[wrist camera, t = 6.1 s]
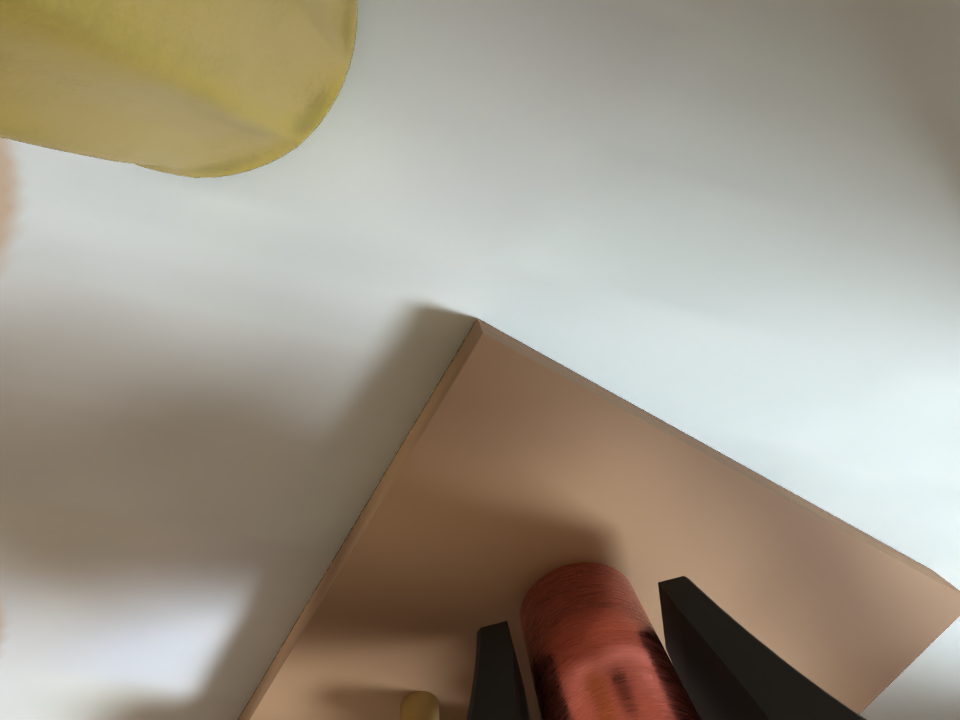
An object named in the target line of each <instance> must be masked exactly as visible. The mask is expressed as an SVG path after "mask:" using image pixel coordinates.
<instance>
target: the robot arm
mask: <svg viewBox="0 0 960 720" xmlns="http://www.w3.org/2000/svg"><path fill="white" fill-rule="evenodd" d="M658 588H659V596H660V604H661V613H662V621H663V630H664V638H665V646H666V650H667V653H668V655H669V657H670V659H671V662H672V664H673V666H674V668H675V670H676V672H677V674H678V676H679V678H680V680H681V682H682V684H683V686H684V687H685V689H686V691H687V693H688V695H689V697H690V699H691V701H692V703H693V705H694V707H695V709H696V711H697V713H698V714H699V716H700V718H701V720H866V719H865V718H863V717H862V716H860V715H859V714H857V713H856V712H854V711H853V710H851V709H850V708H848V707H847V706H845V705H844V704H843V703H841V702H840V701H838V700H837V699H835V698H834V697H833V696H831V695H830V694H828V693H827V692H826V691H824V690H823V689H822V688H820V687H819V686H818V685H816V684H815V683H813V682H812V681H811V680H809V679H808V678H807V677H805V676H804V675H803V674H801V673H800V672H799V671H797V670H796V669H795V668H793V667H792V666H791V665H790V664H788V663H787V662H786V661H784V660H783V659H782V658H781V657H779V656H778V655H777V654H776V653H774V652H773V651H772V650H771V649H769V648H768V647H767V646H766V645H764V644H763V643H762V642H761V641H759V640H758V639H757V638H756V637H755V636H753V635H752V634H751V633H750V632H748V631H747V630H746V629H745V628H744V627H742V626H741V625H740V624H739V623H738V622H737V621H735V620H734V619H733V618H732V617H731V616H730V615H729V614H727V613H726V612H725V611H724V610H723V609H722V608H721V607H719V606H718V605H717V604H716V603H715V602H714V601H713V600H712V599H710V598H709V597H708V596H707V595H706V594H705V593H704V592H703V591H702V590H701V589H700V588H698V587H697V586H696V585H695V584H694V583H693V582H692V581H691V580H690V579H689V578H687V577H685V576H681V577H677V578H673V579H669V580H665V581H662V582H658ZM467 720H531V717H530V712H529V707H528V702H527V698H526V693H525V688H524V684H523V680H522V676H521V672H520V668H519V665H518V661H517V657H516V653H515V649H514V646H513V642H512V638H511V634H510V630H509V626H508V623H507V621H504V622H501V623H497V624H493V625H489V626H485V627H481V628H480V629H479V630H478V632H477V647H476V660H475V670H474V678H473V685H472V692H471V698H470V704H469V709H468V715H467Z"/></svg>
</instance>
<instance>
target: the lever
mask: <svg viewBox="0 0 960 720" xmlns="http://www.w3.org/2000/svg"><path fill="white" fill-rule="evenodd" d="M520 623H521V628H522V632H523V637H524V642H525V646H526V651H527V655H528V660H529V664H530V669H531V674H532V678H533V683H534V687H535V692H536V696H537V701H538V706H539V710H540V715H541V719H542V720H701V718H700V716H699V714H698V713H697V711H696V709H695V707H694V705H693V703H692V701H691V699H690V697H689V695H688V693H687V691H686V689H685V687H684V686H683V684H682V682H681V680H680V678H679V676H678V674H677V672H676V670H675V668H674V666H673V664H672V662H671V660H670V659H669V657H668V655H667V653H666V651H665V649H664V647H663V645H662V643H661V641H660V639H659V637H658V635H657V633H656V632H655V630H654V628H653V626H652V624H651V622H650V620H649V618H648V616H647V614H646V612H645V610H644V608H643V606H642V605H641V603H640V601H639V599H638V597H637V595H636V593H635V591H634V589H633V587H632V585H631V584H630V582H629V580H628V579H627V578H626V577H625V576H624V575H623V574H622V573H621V572H619V571H618V570H616V569H614V568H612V567H610V566H608V565H604V564H600V563H594V562H581V563H574V564H569V565H566V566H562V567H560V568H557V569H555V570H553V571H551V572H549V573H548V574H546V575H545V576H543V577H542V578H541V579H539V580H538V581H537V582H536V583H535V584H534V585H533V586H532V587H531V588H530V590H529V591H528V593H527V594H526V596H525V598H524V600H523V603H522V606H521V610H520Z"/></svg>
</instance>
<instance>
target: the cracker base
mask: <svg viewBox="0 0 960 720" xmlns="http://www.w3.org/2000/svg"><path fill="white" fill-rule="evenodd" d="M581 562H594V563H600V564H604V565H608V566H610V567H612V568H614V569H616V570H618V571H619V572H621V573H622V574H623V575H624V576H625V577H626V578H627V579H628V580H629V582H630V584H631V585H632V587H633V589H634V591H635V593H636V595H637V597H638V599H639V601H640V603H641V605H642V606H643V608H644V610H645V612H646V614H647V616H648V618H649V620H650V622H651V624H652V626H653V628H654V630H655V632H656V633H657V635H658V637H659V639H660V641H661V643H662V645H663V647H664V649H665V651H666V653H667V650H666V646H665V638H664V630H663V621H662V613H661V604H660V596H659V588H658V582H662V581H665V580H669V579H673V578H677V577H681V576H685V577H687V578H689V579H690V580H691V581H692V582H693V583H694V584H695V585H696V586H697V587H698V588H700V589H701V590H702V591H703V592H704V593H705V594H706V595H707V596H708V597H709V598H710V599H712V600H713V601H714V602H715V603H716V604H717V605H718V606H719V607H721V608H722V609H723V610H724V611H725V612H726V613H727V614H729V615H730V616H731V617H732V618H733V619H734V620H735V621H737V622H738V623H739V624H740V625H741V626H742V627H744V628H745V629H746V630H747V631H748V632H750V633H751V634H752V635H753V636H755V637H756V638H757V639H758V640H759V641H761V642H762V643H763V644H764V645H766V646H767V647H768V648H769V649H771V650H772V651H773V652H774V653H776V654H777V655H778V656H779V657H781V658H782V659H783V660H784V661H786V662H787V663H788V664H790V665H791V666H792V667H793V668H795V669H796V670H797V671H799V672H800V673H801V674H803V675H804V676H805V677H807V678H808V679H809V680H811V681H812V682H813V683H815V684H816V685H818V686H819V687H820V688H822V689H823V690H824V691H826V692H827V693H828V694H830V695H831V696H833V697H834V698H835V699H837V700H838V701H840V702H841V703H843V704H844V705H845V706H847V707H848V708H850V709H851V710H853V711H854V712H856V713H857V714H860V713H861V712H862V711H863V710H864V709H865V708H866V707H867V706H868V705H869V704H870V703H871V702H872V701H873V700H874V699H875V698H876V697H877V696H878V695H879V694H880V693H881V692H882V691H883V690H884V689H885V688H886V687H887V686H888V685H890V684H891V683H892V682H893V681H894V680H895V679H896V678H897V677H898V676H899V675H900V674H901V673H902V672H903V671H904V670H905V669H906V668H907V667H908V666H909V665H910V664H911V663H912V662H913V661H914V660H915V659H916V658H917V657H918V656H919V655H920V654H921V653H922V652H923V651H924V650H925V649H926V648H927V647H928V646H929V645H930V644H931V643H932V642H933V641H934V640H935V639H936V638H938V637H939V636H940V635H941V634H942V633H943V632H944V631H945V630H946V629H947V628H948V627H949V626H950V625H951V624H952V623H953V622H954V621H955V620H956V619H957V618H958V617H959V616H960V591H959V590H958V589H957V588H955V587H954V586H953V585H951V584H950V583H949V582H947V581H946V580H945V579H943V578H942V577H941V576H939V575H938V574H937V573H935V572H934V571H933V570H931V569H929V568H927V567H925V566H924V565H922V564H920V563H918V562H916V561H915V560H913V559H911V558H909V557H907V556H905V555H904V554H902V553H900V552H898V551H896V550H895V549H893V548H891V547H889V546H887V545H886V544H884V543H882V542H880V541H878V540H877V539H875V538H873V537H871V536H869V535H868V534H866V533H864V532H862V531H860V530H859V529H857V528H855V527H853V526H851V525H850V524H848V523H846V522H844V521H842V520H841V519H839V518H837V517H835V516H833V515H832V514H830V513H828V512H826V511H824V510H822V509H821V508H819V507H817V506H815V505H813V504H812V503H810V502H808V501H806V500H804V499H803V498H801V497H799V496H797V495H795V494H794V493H792V492H790V491H788V490H786V489H785V488H783V487H781V486H779V485H777V484H776V483H774V482H772V481H770V480H768V479H767V478H765V477H763V476H761V475H759V474H758V473H756V472H754V471H752V470H750V469H748V468H747V467H745V466H743V465H741V464H739V463H738V462H736V461H734V460H732V459H730V458H729V457H727V456H725V455H723V454H721V453H720V452H718V451H716V450H714V449H712V448H711V447H709V446H707V445H705V444H703V443H702V442H700V441H698V440H696V439H694V438H693V437H691V436H689V435H687V434H685V433H684V432H682V431H680V430H678V429H676V428H675V427H673V426H671V425H669V424H667V423H665V422H664V421H662V420H660V419H658V418H656V417H655V416H653V415H651V414H649V413H647V412H646V411H644V410H642V409H640V408H638V407H637V406H635V405H633V404H631V403H629V402H628V401H626V400H624V399H622V398H620V397H619V396H617V395H615V394H613V393H611V392H610V391H608V390H606V389H604V388H602V387H601V386H599V385H597V384H595V383H593V382H591V381H590V380H588V379H586V378H584V377H582V376H581V375H579V374H577V373H575V372H573V371H572V370H570V369H568V368H566V367H564V366H563V365H561V364H559V363H557V362H555V361H554V360H552V359H550V358H548V357H546V356H545V355H543V354H541V353H539V352H537V351H536V350H534V349H532V348H530V347H528V346H527V345H525V344H523V343H521V342H519V341H518V340H516V339H514V338H512V337H510V336H508V335H507V334H505V333H503V332H501V331H499V330H498V329H496V328H494V327H492V326H490V325H489V324H487V323H485V322H483V321H481V320H480V319H478V318H477V320H476V322H475V323H474V325H473V327H472V328H471V330H470V332H469V333H468V335H467V337H466V338H465V340H464V342H463V343H462V345H461V347H460V349H459V350H458V352H457V354H456V355H455V357H454V359H453V360H452V362H451V364H450V365H449V367H448V369H447V370H446V372H445V374H444V375H443V377H442V379H441V380H440V382H439V384H438V385H437V387H436V389H435V390H434V392H433V394H432V395H431V397H430V399H429V401H428V402H427V404H426V406H425V407H424V409H423V411H422V412H421V414H420V416H419V417H418V419H417V421H416V422H415V424H414V426H413V427H412V429H411V431H410V432H409V434H408V436H407V437H406V439H405V441H404V442H403V444H402V446H401V447H400V449H399V451H398V452H397V454H396V456H395V458H394V459H393V461H392V463H391V464H390V466H389V468H388V469H387V471H386V473H385V474H384V476H383V478H382V479H381V481H380V483H379V484H378V486H377V488H376V489H375V491H374V493H373V494H372V496H371V498H370V499H369V501H368V503H367V504H366V506H365V508H364V510H363V511H362V513H361V515H360V516H359V518H358V520H357V521H356V523H355V525H354V526H353V528H352V530H351V531H350V533H349V535H348V536H347V538H346V540H345V541H344V543H343V545H342V546H341V548H340V550H339V551H338V553H337V555H336V556H335V558H334V560H333V561H332V563H331V565H330V567H329V568H328V570H327V572H326V573H325V575H324V577H323V578H322V580H321V582H320V583H319V585H318V587H317V588H316V590H315V592H314V593H313V595H312V597H311V598H310V600H309V602H308V603H307V605H306V607H305V608H304V610H303V612H302V613H301V615H300V617H299V619H298V620H297V622H296V624H295V625H294V627H293V629H292V630H291V632H290V634H289V635H288V637H287V639H286V640H285V642H284V644H283V645H282V647H281V649H280V650H279V652H278V654H277V655H276V657H275V659H274V660H273V662H272V664H271V665H270V667H269V669H268V671H267V672H266V674H265V676H264V677H263V679H262V681H261V682H260V684H259V686H258V687H257V689H256V691H255V692H254V694H253V696H252V697H251V699H250V701H249V702H248V704H247V706H246V707H245V709H244V711H243V712H242V714H241V716H240V717H239V719H238V720H467V715H468V709H469V704H470V698H471V692H472V685H473V678H474V670H475V660H476V647H477V632H478V630H479V629H480V628H481V627H485V626H489V625H493V624H497V623H501V622H504V621H507V623H508V626H509V630H510V634H511V638H512V642H513V646H514V649H515V653H516V657H517V661H518V665H519V668H520V672H521V676H522V680H523V684H524V688H525V693H526V698H527V702H528V707H529V712H530V717H531V720H542V719H541V715H540V710H539V706H538V701H537V696H536V692H535V687H534V683H533V678H532V674H531V669H530V664H529V660H528V655H527V651H526V646H525V642H524V637H523V632H522V628H521V623H520V610H521V606H522V603H523V600H524V598H525V596H526V594H527V593H528V591H529V590H530V588H531V587H532V586H533V585H534V584H535V583H536V582H537V581H538V580H539V579H541V578H542V577H543V576H545V575H546V574H548V573H549V572H551V571H553V570H555V569H557V568H560V567H562V566H566V565H569V564H574V563H581ZM667 655H668V653H667ZM668 657H669V655H668ZM669 659H670V657H669ZM670 660H671V659H670Z"/></svg>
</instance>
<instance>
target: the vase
mask: <svg viewBox="0 0 960 720" xmlns="http://www.w3.org/2000/svg"><path fill="white" fill-rule="evenodd" d="M356 26H357V0H0V138H6V139H11V140H15V141H20V142H24V143H28V144H32V145H37V146H41V147H46V148H50V149H55V150H60V151H65V152H70V153H75V154H80V155H85V156H90V157H95V158H100V159H105V160H110V161H116V162H125V163H133V164H136V165H139V166H142V167H145V168H149V169H153V170H156V171H160V172H164V173H171V174H175V175H179V176H186V177H193V178H200V177H221V176H228V175H234V174H238V173H242V172H246V171H250V170H252V169H255V168H258V167H261V166H263V165H266V164H268V163H270V162H273V161H275V160H277V159H279V158H281V157H283V156H284V155H286V154H287V153H289V152H290V151H292V150H293V149H295V148H297V147H298V146H299V145H300V144H301V143H302V142H303V141H304V140H305V139H306V138H307V137H308V136H309V135H310V134H311V133H312V132H313V131H314V130H315V129H316V127H317V126H318V125H319V124H320V123H321V121H322V120H323V118H324V117H325V115H326V114H327V112H328V111H329V109H330V108H331V106H332V104H333V103H334V101H335V99H336V97H337V96H338V94H339V92H340V89H341V87H342V85H343V83H344V80H345V77H346V75H347V72H348V69H349V66H350V62H351V58H352V54H353V50H354V44H355V37H356Z"/></svg>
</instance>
